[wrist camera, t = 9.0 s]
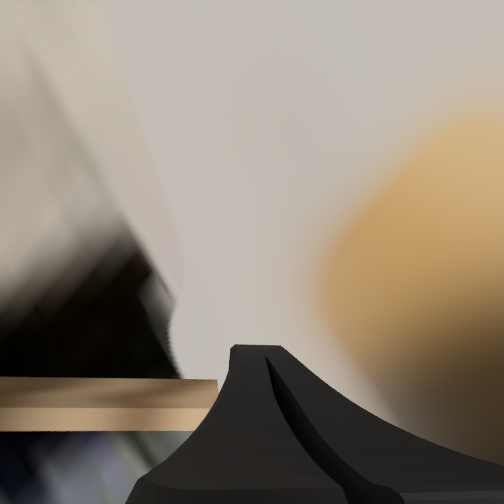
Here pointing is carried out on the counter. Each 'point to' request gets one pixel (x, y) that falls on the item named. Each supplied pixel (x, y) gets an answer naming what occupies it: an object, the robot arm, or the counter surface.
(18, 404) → the rail
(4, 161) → the counter surface
